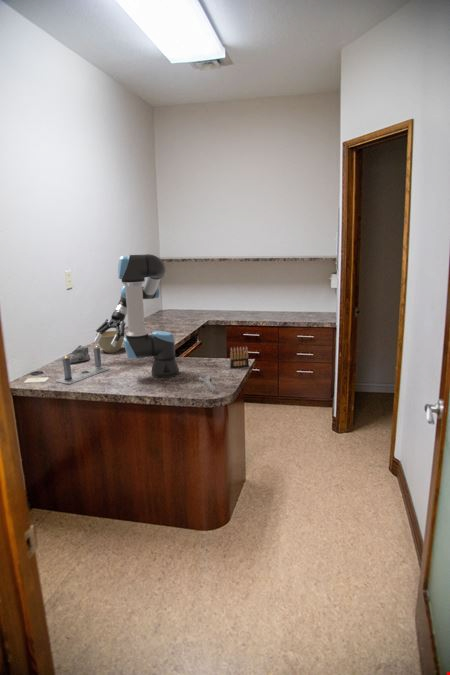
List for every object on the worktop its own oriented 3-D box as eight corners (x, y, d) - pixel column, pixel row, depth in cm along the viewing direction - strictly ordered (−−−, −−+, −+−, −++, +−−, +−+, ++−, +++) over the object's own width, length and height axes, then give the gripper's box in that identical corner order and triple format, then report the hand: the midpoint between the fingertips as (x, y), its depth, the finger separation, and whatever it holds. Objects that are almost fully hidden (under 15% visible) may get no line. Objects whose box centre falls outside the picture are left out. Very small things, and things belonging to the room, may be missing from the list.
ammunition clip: (248, 365, 256) (247, 345, 253) (249, 366, 254) (248, 346, 251) (229, 367, 253) (229, 347, 251) (230, 368, 252) (230, 348, 249)
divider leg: (102, 366, 257) (100, 346, 254) (98, 367, 255) (96, 347, 252) (98, 365, 259) (96, 345, 256) (94, 367, 256) (92, 346, 253)
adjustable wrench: (218, 394, 213) (218, 391, 213) (205, 396, 212) (205, 392, 211) (209, 378, 237) (209, 375, 237) (197, 379, 236) (197, 376, 235)
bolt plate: (110, 368, 258) (108, 346, 255) (69, 384, 233) (66, 359, 230) (97, 366, 263) (95, 344, 260) (56, 381, 237) (53, 357, 234)
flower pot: (127, 352, 292) (125, 334, 290) (98, 356, 286) (97, 337, 284) (123, 346, 309) (122, 329, 306) (96, 349, 303) (94, 332, 300)
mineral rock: (68, 365, 269) (66, 348, 266) (68, 360, 278) (66, 344, 276) (91, 362, 273) (89, 346, 271) (89, 358, 283) (88, 342, 280)
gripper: (138, 319, 266) (123, 349, 257) (107, 316, 278) (92, 345, 269) (132, 311, 260) (116, 342, 251) (100, 309, 272) (84, 338, 263)
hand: (103, 344), depth 260 cm, fingers open, 13 cm apart
